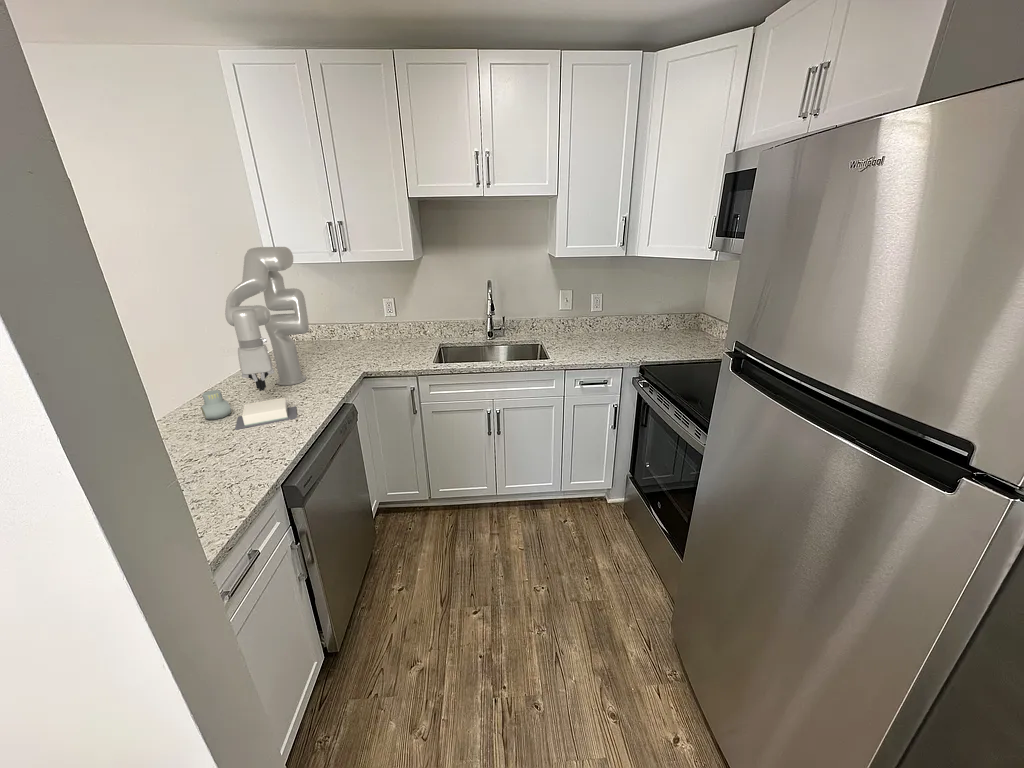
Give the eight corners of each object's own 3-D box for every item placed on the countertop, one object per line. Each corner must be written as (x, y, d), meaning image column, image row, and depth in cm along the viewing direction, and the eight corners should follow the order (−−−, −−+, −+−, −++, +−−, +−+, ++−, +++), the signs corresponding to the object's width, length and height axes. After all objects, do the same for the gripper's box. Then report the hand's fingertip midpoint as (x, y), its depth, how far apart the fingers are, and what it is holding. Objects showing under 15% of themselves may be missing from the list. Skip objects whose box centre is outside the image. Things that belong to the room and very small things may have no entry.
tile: (244, 404, 162) (242, 415, 152) (285, 397, 168) (285, 408, 157) (247, 413, 163) (244, 425, 153) (287, 406, 169) (287, 417, 159)
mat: (238, 418, 161) (237, 416, 161) (296, 407, 169) (295, 406, 169) (235, 430, 151) (235, 428, 151) (297, 418, 160) (296, 416, 160)
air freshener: (202, 415, 164) (195, 391, 160) (227, 409, 169) (220, 386, 165) (208, 424, 156) (201, 399, 153) (234, 417, 162) (227, 393, 158)
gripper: (274, 338, 161) (283, 383, 168) (228, 343, 155) (240, 390, 162) (273, 343, 155) (284, 389, 162) (225, 348, 149) (238, 396, 155)
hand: (262, 389), depth 162 cm, fingers closed
